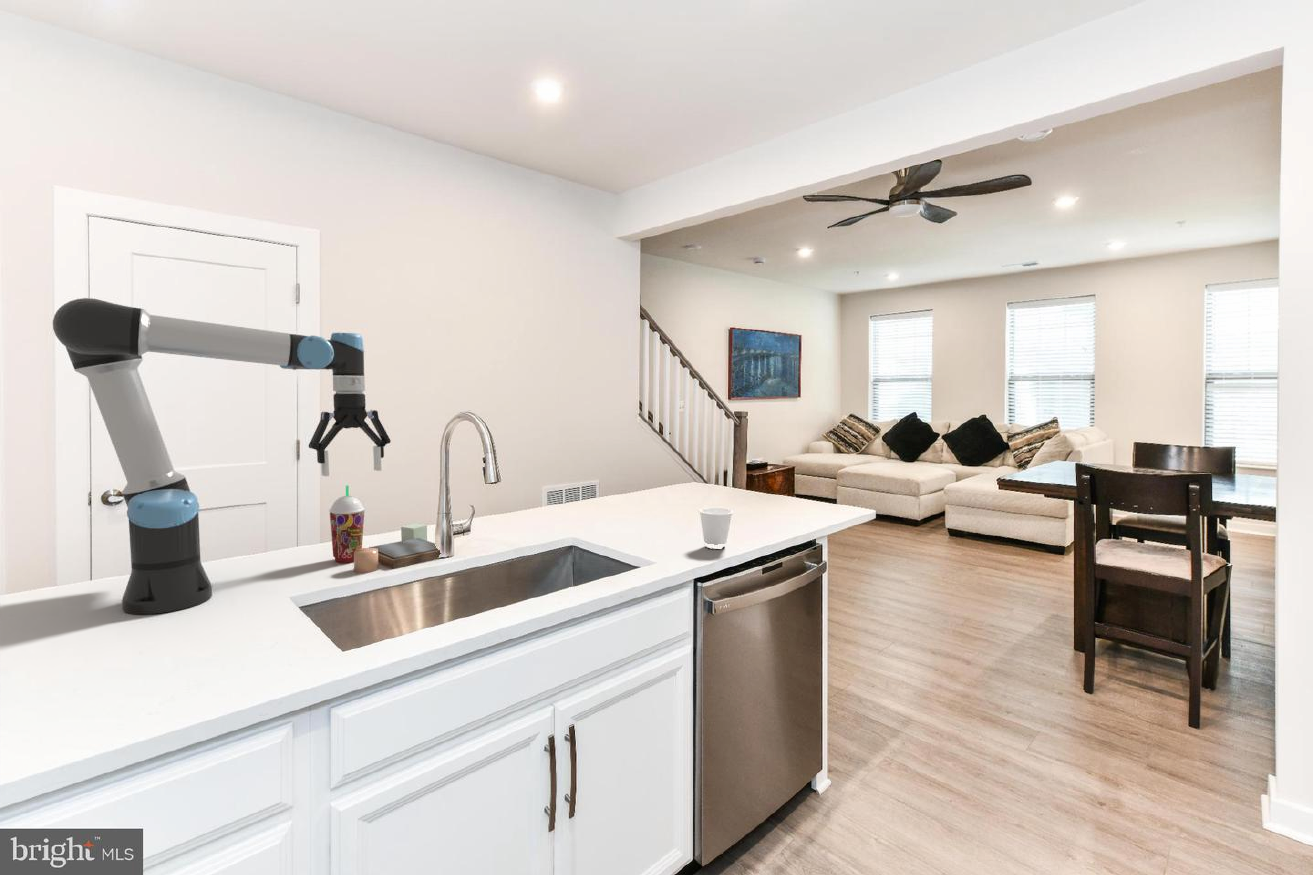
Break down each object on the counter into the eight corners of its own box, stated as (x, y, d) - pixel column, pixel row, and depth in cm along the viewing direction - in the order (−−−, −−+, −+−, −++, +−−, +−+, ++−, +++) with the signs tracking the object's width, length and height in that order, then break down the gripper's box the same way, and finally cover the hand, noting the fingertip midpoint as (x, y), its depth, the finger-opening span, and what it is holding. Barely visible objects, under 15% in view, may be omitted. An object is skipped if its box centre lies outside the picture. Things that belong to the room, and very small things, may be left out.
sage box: (413, 545, 184) (413, 528, 184) (401, 543, 186) (401, 526, 186) (427, 541, 188) (426, 525, 188) (414, 539, 191) (414, 523, 190)
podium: (393, 568, 161) (393, 558, 161) (364, 556, 171) (364, 547, 171) (449, 556, 173) (449, 547, 173) (419, 545, 183) (419, 536, 183)
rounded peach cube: (360, 574, 156) (359, 555, 155) (350, 570, 159) (349, 550, 159) (382, 569, 160) (382, 550, 160) (372, 565, 164) (371, 546, 163)
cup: (692, 545, 189) (693, 508, 188) (720, 541, 193) (721, 506, 192) (708, 553, 180) (709, 515, 179) (738, 549, 184) (739, 512, 184)
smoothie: (354, 565, 164) (354, 489, 161) (323, 563, 164) (322, 487, 162) (370, 556, 172) (370, 483, 170) (340, 554, 172) (339, 482, 170)
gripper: (303, 393, 153) (307, 479, 155) (402, 392, 172) (404, 469, 174) (292, 392, 158) (295, 476, 160) (388, 391, 177) (391, 466, 179)
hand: (352, 473), depth 167 cm, fingers open, 13 cm apart
